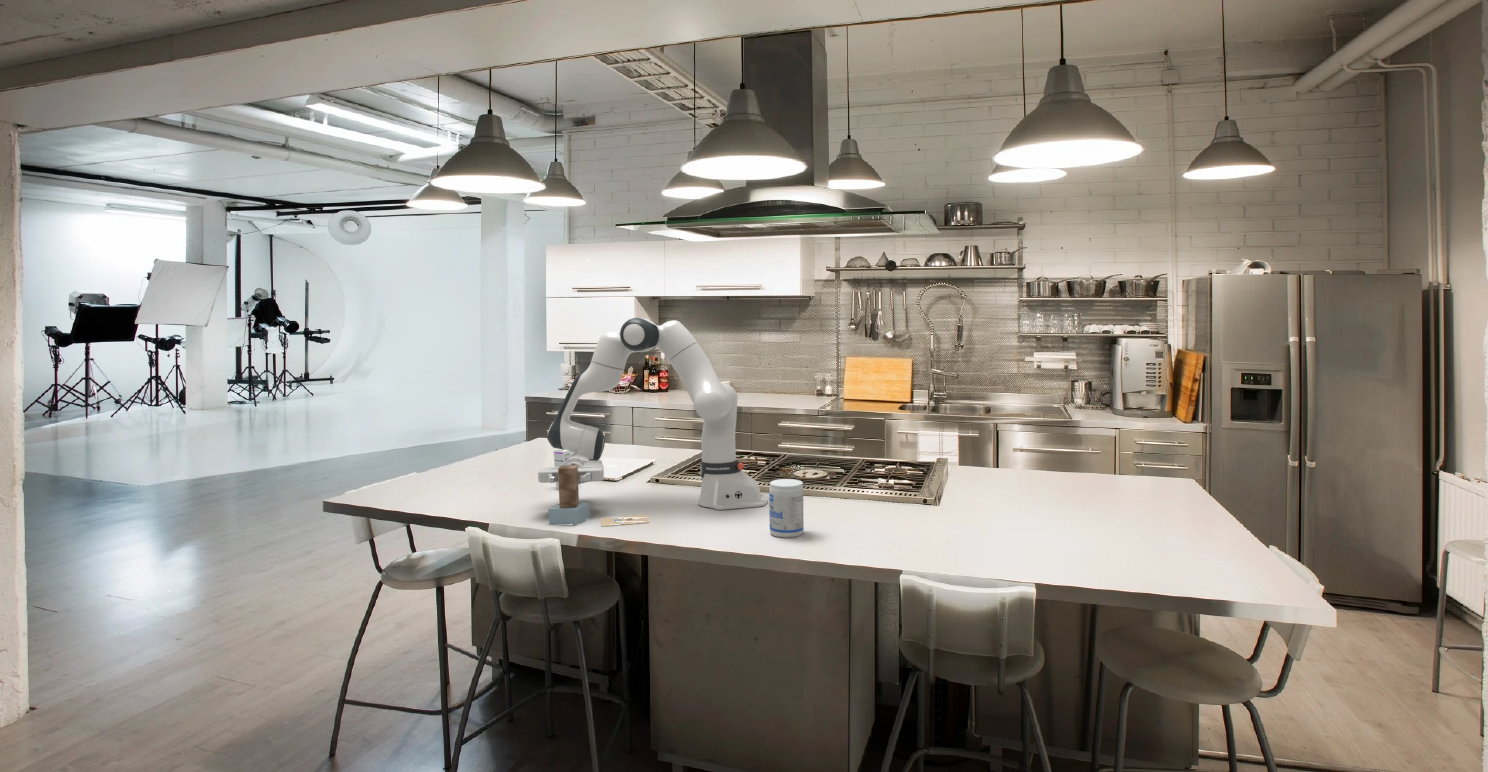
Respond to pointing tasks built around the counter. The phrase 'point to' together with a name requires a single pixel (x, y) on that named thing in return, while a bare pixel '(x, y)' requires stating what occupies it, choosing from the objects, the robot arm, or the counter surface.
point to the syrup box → (561, 459)
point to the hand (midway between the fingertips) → (567, 479)
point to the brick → (569, 514)
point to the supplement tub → (786, 508)
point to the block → (568, 486)
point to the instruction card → (609, 521)
